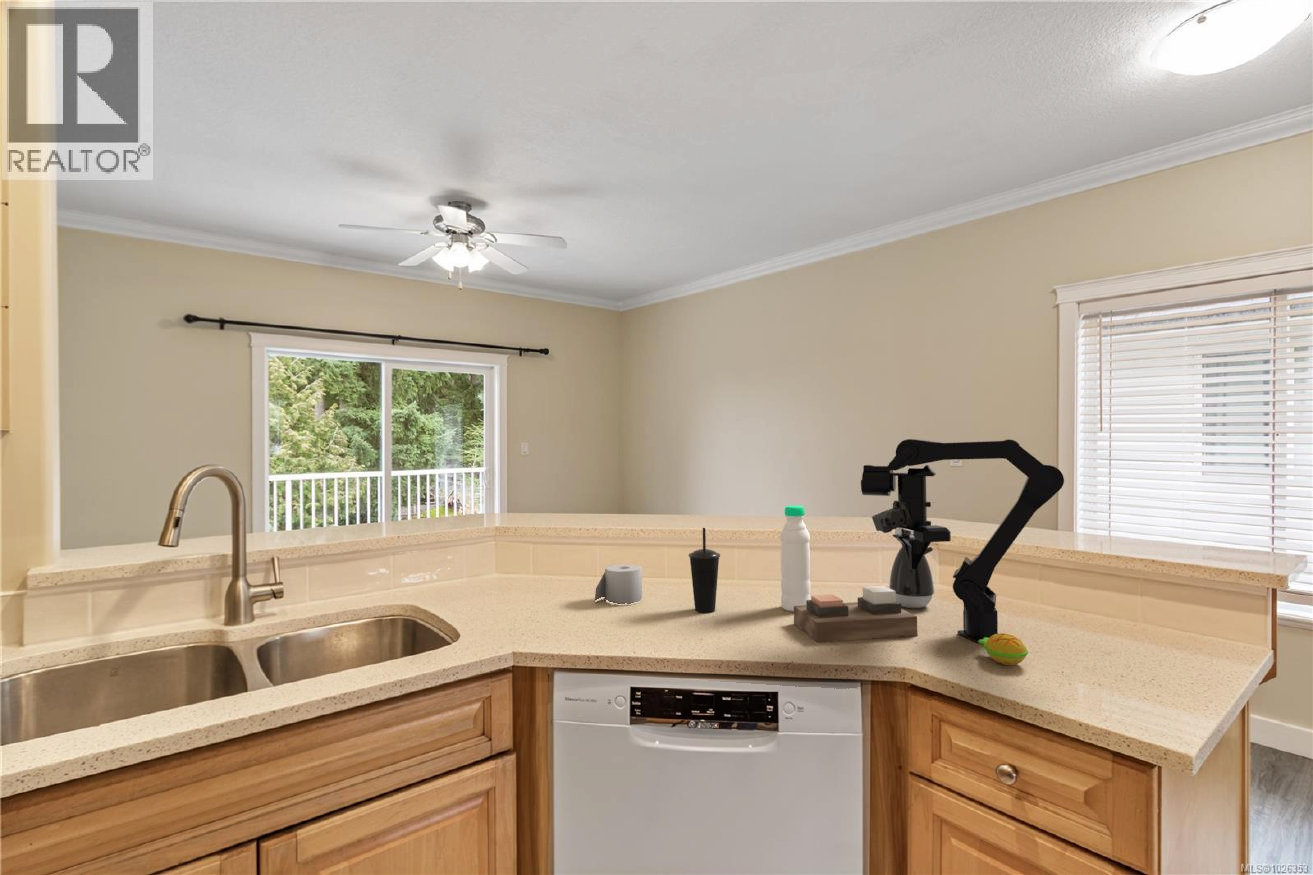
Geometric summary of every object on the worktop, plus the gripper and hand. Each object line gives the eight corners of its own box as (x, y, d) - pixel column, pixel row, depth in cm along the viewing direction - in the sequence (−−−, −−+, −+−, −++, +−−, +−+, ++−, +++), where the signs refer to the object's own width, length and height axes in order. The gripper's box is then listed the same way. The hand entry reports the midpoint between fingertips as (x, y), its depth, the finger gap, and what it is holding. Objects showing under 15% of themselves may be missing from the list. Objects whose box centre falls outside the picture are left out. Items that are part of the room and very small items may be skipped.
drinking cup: (720, 606, 155) (719, 525, 155) (720, 615, 148) (719, 530, 148) (690, 605, 156) (689, 525, 156) (688, 614, 148) (687, 530, 148)
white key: (895, 605, 134) (895, 591, 134) (873, 606, 133) (873, 592, 133) (883, 599, 139) (883, 585, 139) (862, 600, 138) (862, 586, 138)
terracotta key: (843, 614, 132) (842, 600, 132) (820, 615, 132) (820, 601, 132) (833, 608, 137) (832, 594, 137) (811, 609, 136) (811, 595, 136)
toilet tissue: (586, 603, 159) (586, 570, 159) (626, 594, 168) (626, 562, 168) (608, 610, 153) (608, 575, 153) (649, 600, 162) (648, 567, 162)
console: (917, 635, 131) (916, 606, 131) (817, 642, 127) (817, 612, 127) (885, 618, 143) (884, 591, 143) (793, 623, 140) (793, 596, 140)
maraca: (995, 671, 111) (995, 640, 111) (972, 651, 121) (971, 624, 121) (1036, 672, 110) (1036, 641, 110) (1009, 652, 120) (1008, 624, 120)
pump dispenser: (942, 611, 148) (941, 547, 148) (898, 611, 149) (897, 547, 149) (924, 600, 159) (923, 540, 159) (883, 600, 159) (882, 540, 159)
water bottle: (811, 613, 148) (810, 508, 148) (781, 612, 149) (779, 507, 149) (810, 605, 155) (808, 504, 155) (781, 604, 156) (779, 504, 156)
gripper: (856, 494, 143) (857, 562, 143) (900, 502, 125) (902, 580, 125) (901, 492, 145) (902, 560, 145) (951, 500, 127) (952, 577, 127)
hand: (913, 568), depth 135 cm, fingers closed
